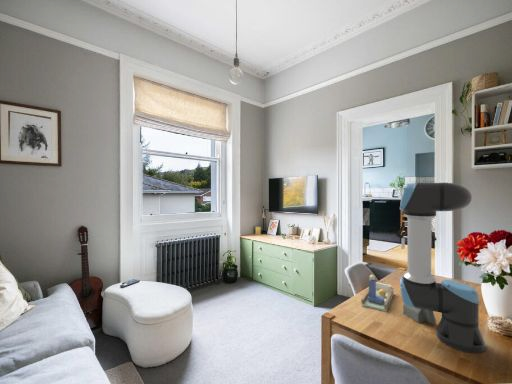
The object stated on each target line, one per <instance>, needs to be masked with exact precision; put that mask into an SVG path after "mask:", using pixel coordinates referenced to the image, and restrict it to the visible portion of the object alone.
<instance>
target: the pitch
mask: <svg viewBox="0 0 512 384" xmlns="http://www.w3.org/2000/svg"><path fill="white" fill-rule="evenodd" d="M380 289H384V290H385V291H386V295H385V296H384V302H383V304H378V303H374V302H370V301H368V297H369V288H367V290H366V292H365V293H364V295H363V296H362V298H361V303H360V304H361V306H362V307H364V308H365V307H366V308H370V309H374V310H378V311H382V312H386V313H387V312H388V309H389V306H390V304H391V301H392V298H393V296H394V287H393V286H392V285H391V284H387V283H382V282H377V281H376V295H378V296H380V295H379V293H378V291H379V290H380Z"/></svg>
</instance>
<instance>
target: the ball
mask: <svg viewBox="0 0 512 384" xmlns="http://www.w3.org/2000/svg"><path fill="white" fill-rule="evenodd" d="M378 293H379V295H380V296H383V297H384V296H385V295H386V291H385V290H384V289H380V290H379V291H378Z"/></svg>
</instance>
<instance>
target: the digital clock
mask: <svg viewBox="0 0 512 384" xmlns="http://www.w3.org/2000/svg"><path fill="white" fill-rule="evenodd" d="M402 309H403V311H402V313H403V315H406V316H407V317H409V318H411V319H412V320H414V321H415V322H417V323H423V322H428V323H430V324H432V325H434V324H435V325H436V322H437V320H436V316H435V313H434V311H430V310H424V309H419V308H414V307H410V306H407V305H405V304H404V303H403V307H402Z"/></svg>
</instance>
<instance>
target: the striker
mask: <svg viewBox="0 0 512 384" xmlns="http://www.w3.org/2000/svg"><path fill="white" fill-rule="evenodd" d="M376 282H377V280H376V276H375V275H374V274H370V275H369V279H368V289H369V297H368V301H370V302H374V303H378V304H383V302H384V297H383V296H378V295H376Z"/></svg>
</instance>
